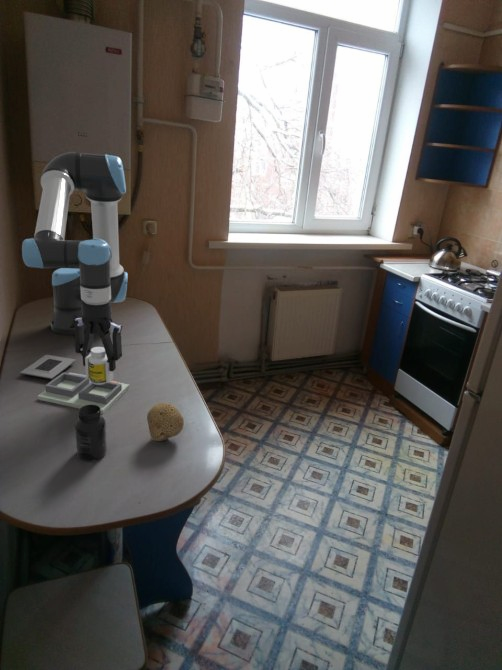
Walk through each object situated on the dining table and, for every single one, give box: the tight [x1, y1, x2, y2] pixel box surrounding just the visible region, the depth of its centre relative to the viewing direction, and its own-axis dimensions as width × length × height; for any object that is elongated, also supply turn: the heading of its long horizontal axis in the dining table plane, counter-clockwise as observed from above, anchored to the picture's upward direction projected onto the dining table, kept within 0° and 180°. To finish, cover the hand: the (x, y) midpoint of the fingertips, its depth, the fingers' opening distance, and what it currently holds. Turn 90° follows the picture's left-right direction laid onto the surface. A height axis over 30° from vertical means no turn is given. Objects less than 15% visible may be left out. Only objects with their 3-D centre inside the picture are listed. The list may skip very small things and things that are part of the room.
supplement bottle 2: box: [74, 405, 108, 462], centre depth 106 cm, size 7×7×12 cm
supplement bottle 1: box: [89, 346, 108, 385], centre depth 126 cm, size 5×5×10 cm
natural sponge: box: [146, 402, 184, 442], centre depth 113 cm, size 9×9×10 cm
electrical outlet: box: [19, 354, 77, 380], centre depth 142 cm, size 13×10×2 cm
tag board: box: [37, 371, 130, 415], centre depth 131 cm, size 15×20×3 cm
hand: (99, 378), depth 127 cm, fingers closed on supplement bottle 1, 5 cm apart
